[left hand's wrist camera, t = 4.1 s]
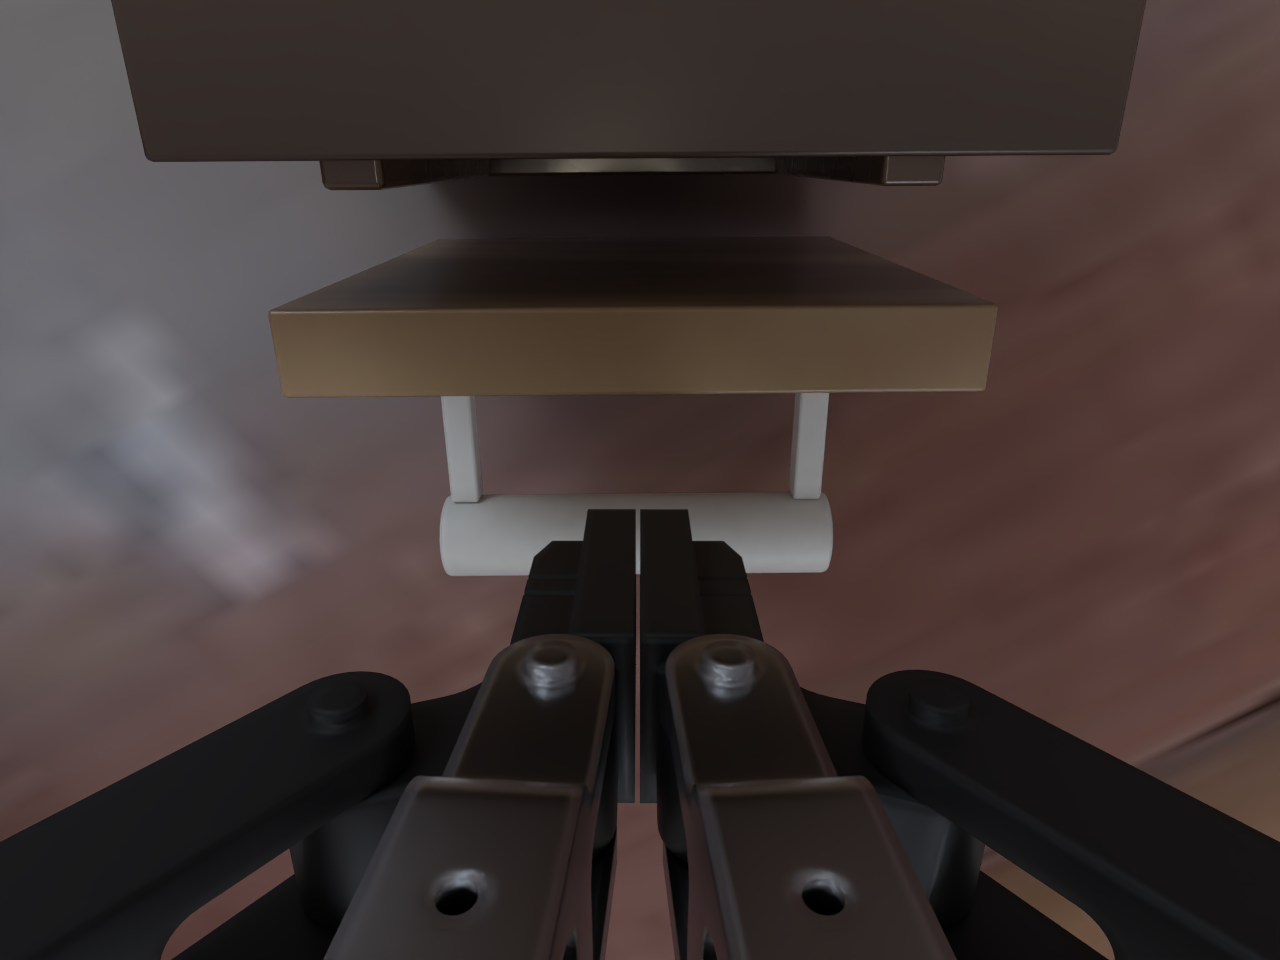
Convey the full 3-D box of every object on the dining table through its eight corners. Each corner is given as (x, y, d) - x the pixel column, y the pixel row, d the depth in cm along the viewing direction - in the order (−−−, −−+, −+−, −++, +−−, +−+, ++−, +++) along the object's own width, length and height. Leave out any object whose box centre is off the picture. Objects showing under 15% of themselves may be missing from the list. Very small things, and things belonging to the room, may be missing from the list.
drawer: (810, 493, 22) (934, 726, 13) (461, 496, 22) (341, 732, 13) (897, -617, 14) (1366, -1991, 5) (352, -615, 14) (-150, -1997, 5)
